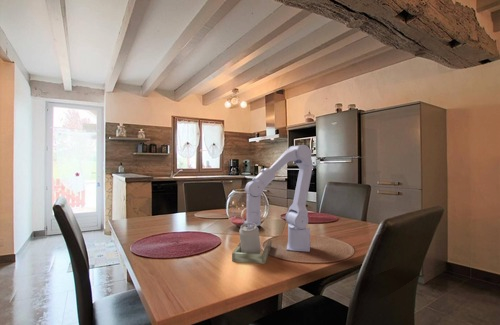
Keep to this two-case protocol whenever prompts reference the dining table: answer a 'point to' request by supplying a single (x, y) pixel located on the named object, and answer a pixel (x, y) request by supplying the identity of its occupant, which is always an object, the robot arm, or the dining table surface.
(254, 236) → the can
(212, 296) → the dining table surface
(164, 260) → the dining table surface
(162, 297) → the dining table surface
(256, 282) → the dining table surface
